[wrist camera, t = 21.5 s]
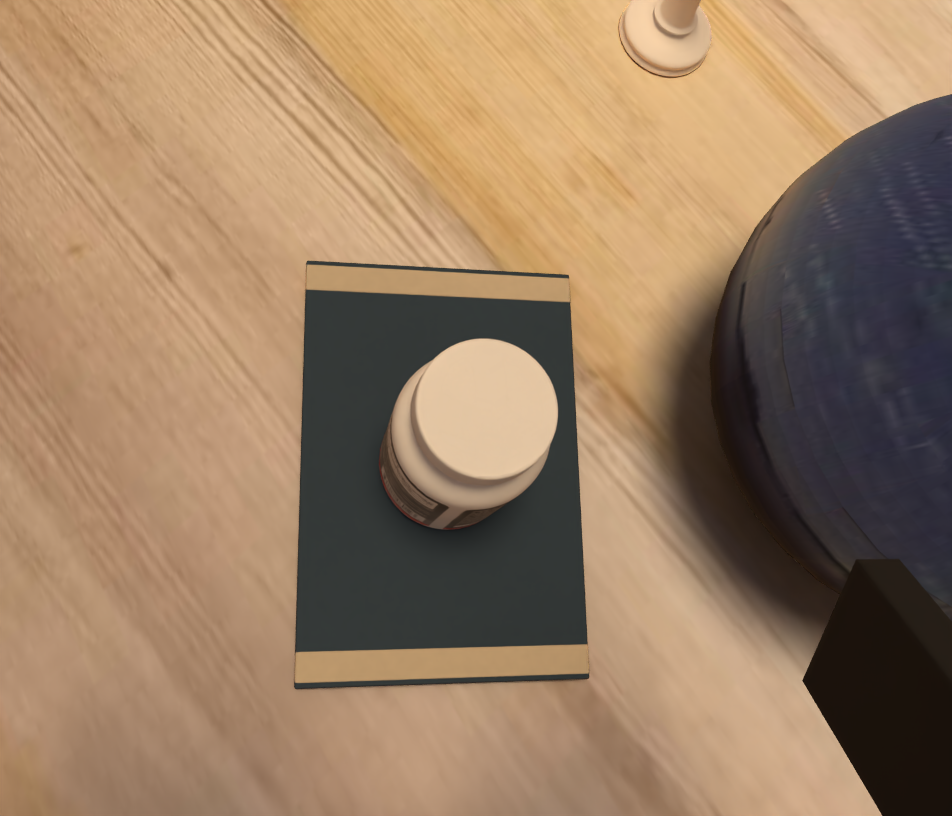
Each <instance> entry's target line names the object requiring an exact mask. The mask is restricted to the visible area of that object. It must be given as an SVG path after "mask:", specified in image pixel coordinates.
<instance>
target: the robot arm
mask: <svg viewBox="0 0 952 816" xmlns="http://www.w3.org/2000/svg"><path fill="white" fill-rule="evenodd" d="M802 681H803V683H804V684H805V686H806V688H807V689H808V691H809V693H810V694H811V696H812V698H813V699H814V701H815V703H816V704H817V706H818V708H819V709H820V711H821V713H822V715H823V716H824V718H825V720H826V721H827V723H828V725H829V726H830V728H831V730H832V731H833V733H834V735H835V736H836V738H837V740H838V741H839V743H840V745H841V747H842V748H843V750H844V752H845V753H846V755H847V757H848V758H849V760H850V762H851V763H852V765H853V767H854V768H855V770H856V772H857V773H858V775H859V777H860V779H861V780H862V782H863V784H864V785H865V787H866V789H867V790H868V792H869V794H870V795H871V797H872V799H873V800H874V802H875V804H876V805H877V807H878V809H879V811H880V812H881V814H882V816H952V621H951V620H950V619H949V617H948V616H947V615H946V614H945V613H944V612H943V610H942V609H941V608H940V607H939V606H938V604H937V603H936V602H935V601H934V600H933V598H932V597H931V596H930V595H929V594H928V593H927V591H926V590H925V589H924V588H923V587H922V585H921V584H920V583H919V582H918V581H917V579H916V578H915V577H914V576H913V575H912V574H911V572H910V571H909V570H908V569H907V568H906V566H905V565H904V564H903V563H902V562H901V561H900V559H856V560H855V563H854V565H853V567H852V570H851V572H850V574H849V576H848V579H847V581H846V583H845V585H844V588H843V590H842V592H841V594H840V597H839V599H838V601H837V603H836V606H835V608H834V610H833V613H832V615H831V617H830V619H829V622H828V624H827V626H826V628H825V631H824V633H823V635H822V637H821V640H820V642H819V644H818V647H817V649H816V651H815V653H814V656H813V658H812V660H811V662H810V665H809V667H808V669H807V671H806V674H805V676H804V678H803V680H802Z"/></svg>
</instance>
